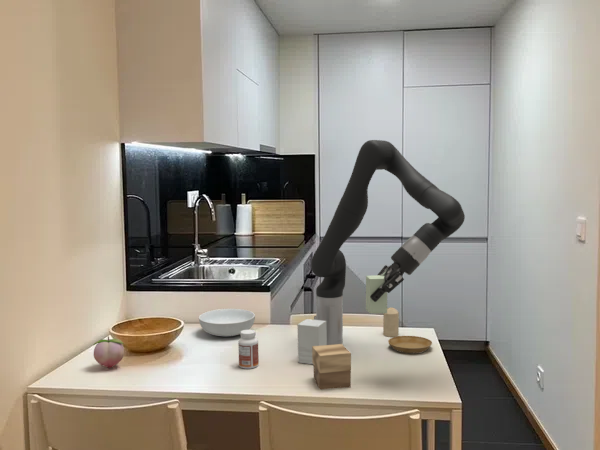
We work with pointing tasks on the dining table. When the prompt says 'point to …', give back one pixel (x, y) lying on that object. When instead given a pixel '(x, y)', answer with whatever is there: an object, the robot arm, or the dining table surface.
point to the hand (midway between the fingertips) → (370, 297)
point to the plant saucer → (410, 344)
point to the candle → (391, 323)
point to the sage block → (371, 287)
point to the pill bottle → (248, 349)
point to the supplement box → (310, 338)
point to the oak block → (331, 358)
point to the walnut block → (332, 379)
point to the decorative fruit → (108, 352)
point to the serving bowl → (226, 321)
